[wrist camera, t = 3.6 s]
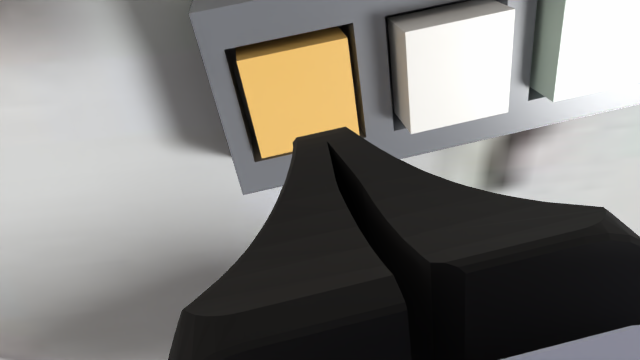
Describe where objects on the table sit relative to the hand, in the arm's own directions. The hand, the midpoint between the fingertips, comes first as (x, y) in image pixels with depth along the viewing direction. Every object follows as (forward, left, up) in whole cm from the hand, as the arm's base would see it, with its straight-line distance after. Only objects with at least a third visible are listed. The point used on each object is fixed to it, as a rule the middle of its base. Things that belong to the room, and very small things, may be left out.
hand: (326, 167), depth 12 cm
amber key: (0, 0, -6) cm, 6 cm away
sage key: (+6, -8, -5) cm, 11 cm away
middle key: (+3, -4, -5) cm, 7 cm away
